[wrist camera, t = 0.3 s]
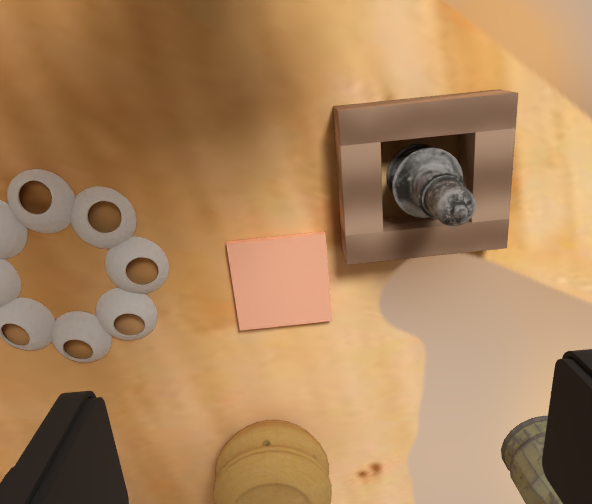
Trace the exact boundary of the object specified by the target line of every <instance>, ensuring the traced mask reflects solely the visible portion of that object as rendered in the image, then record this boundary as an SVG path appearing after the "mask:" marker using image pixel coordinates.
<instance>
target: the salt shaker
mask: <svg viewBox="0 0 592 504" xmlns="http://www.w3.org/2000/svg"><path fill="white" fill-rule="evenodd" d="M387 183H388V186H389V188H390V190H391V191H392V193H393V195H394V198H395V201H396V202H397V204H398V205H399V207H400V208H401V209H402V210H404V211H405V212H406V213H407V214H410V215H412V216H414V217H421V218H427V217H431V218H434V219H438V220H439V221H440V222H441V223H443V224H445V225H447V226H453V227H455V226H460V225H463V224H464V223H466V222H468V221H469V220H470V219H471V218H472V216H473V214H474V212H475V209H476V201H475V198H474V196H473V194H472V193H471V192H470V191H469V190H468V189H466V186H465V184H464V182H463V173H462V169H461V166H460V164H459V163H458V161H457V159H456V158H455V157H454V156H453V155H451V154H450V153H449V152H447V151H444V150H442V149H438V148H433V147H430V146H428V145H424V144H414V145H410V146H407V147H405V148H403V149H402V150H400V151H399V152H398V153H397V154H396V155H395V156H394V157H393V158H392V160H391V162H390V164H389V166H388V170H387Z"/></svg>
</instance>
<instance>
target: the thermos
mask: <svg viewBox="0 0 592 504" xmlns="http://www.w3.org/2000/svg"><path fill="white" fill-rule="evenodd" d="M547 420H548V416H540V417H535V418H531V419H529V420H527V421H525V422H522V423H520V424H519V425H518V426H516V427H515V428H514V429H513V430H511V431H510V433H509V434H508V435H507V437H506V438H505V439H504V442H503V445H502V448H501V453H502V459H503V461H504V463H505V465H506V467H507V468H508V470H509V471H510V474H511V478H512V480H513V482H514V483H515V485H516V487H517V489H518V491H519V492H520V494H521V496H522V498H523V500H524V501H525V503H526V504H563V503H562V502H561V500H560V498H559V497H558V495H557V494H556V492H555V491H554V489H553V488H552V486H551V485H550V483H549V482H548V480H547V478H546V477H545V474H544V471H543V467H542V455H543V448H544V441H545V434H546V427H547Z"/></svg>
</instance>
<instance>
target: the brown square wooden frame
mask: <svg viewBox="0 0 592 504" xmlns="http://www.w3.org/2000/svg"><path fill="white" fill-rule="evenodd" d="M517 102H518V93H516V92H510V91H504V90H490V91H480V92H470V93H460V94H450V95H440V96H430V97H420V98H410V99H400V100H391V101H381V102H371V103H361V104H351V105H341V106H333V112H334V128H335V144H336V160H337V176H338V192H339V209H340V225H341V241H342V251H343V254H344V257H345V259H346V262H347V265H349V264H359V263H368V262H378V261H388V260H397V259H407V258H417V257H425V256H435V255H445V254H455V253H465V252H474V251H484V250H494V249H503V248H507V240H508V226H509V212H510V198H511V184H512V171H513V157H514V143H515V129H516V116H517ZM454 134H460V147H459V164H460V166H461V169H462V173H463V182H464V184H465V186H466V189H468V190H469V191H470V192H471V193H472V194H473V196H474V198H475V201H476V209H475V212H474V214H473V216H472V218H471V219H470V220H469V221H468V222H466V223H464V224H463V225H460V226H455V227H453V226H447V225H445V224H443V223H441V222H440V221H439V220H438V219H434V218H431V217H427V218H421V217H414V216H412V215H409V216H399V217H389V218H383V210H382V174H381V142H385V141H395V140H405V139H415V138H424V137H434V136H444V135H454Z"/></svg>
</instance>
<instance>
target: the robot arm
mask: <svg viewBox="0 0 592 504" xmlns="http://www.w3.org/2000/svg"><path fill="white" fill-rule="evenodd" d="M542 467H543V471H544V474H545V477H546V478H547V480H548V482H549V483H550V485H551V486H552V488H553V489H554V491H555V492H556V494H557V495H558V497H559V498H560V500H561V502H562V503H563V504H592V349H589V350H577V351H568V352H566V353H565V354H564V355H563V358H562V359H559V360H557V362H556V364H555V370H554V377H553V384H552V391H551V399H550V406H549V413H548V420H547V427H546V434H545V441H544V448H543V455H542ZM0 504H129V501H128V494H127V490H126V486H125V482H124V478H123V474H122V470H121V466H120V461H119V457H118V453H117V449H116V445H115V441H114V437H113V433H112V429H111V425H110V421H109V417H108V413H107V409H106V405H105V402H104V400H103V398H101V397H98V398H96V396H95V394H94V393H93V392H92V391H83V392H71V393H63V394H61V395H60V396H59V397H58V399H57V400H56V402H55V403H54V405H53V407H52V408H51V410H50V411H49V413H48V414H47V416H46V418H45V419H44V421H43V422H42V424H41V425H40V427H39V429H38V430H37V432H36V433H35V435H34V436H33V438H32V440H31V441H30V443H29V444H28V446H27V447H26V449H25V451H24V452H23V454H22V455H21V457H20V458H19V460H18V462H17V463H16V465H15V466H14V467H13V468H11V469H10V471H9V472H8V473H7V474H6V475H5V477H4V479H3V480H2V482H1V483H0Z"/></svg>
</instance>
